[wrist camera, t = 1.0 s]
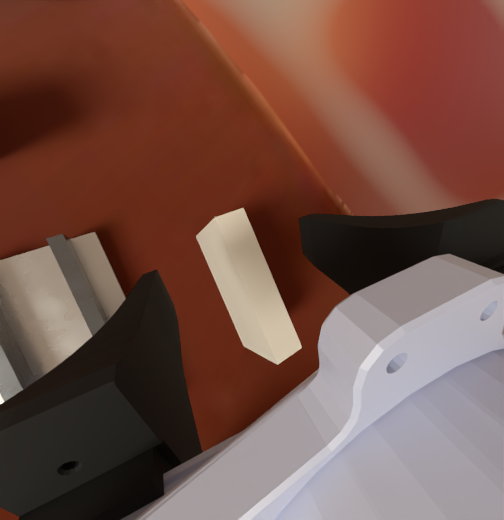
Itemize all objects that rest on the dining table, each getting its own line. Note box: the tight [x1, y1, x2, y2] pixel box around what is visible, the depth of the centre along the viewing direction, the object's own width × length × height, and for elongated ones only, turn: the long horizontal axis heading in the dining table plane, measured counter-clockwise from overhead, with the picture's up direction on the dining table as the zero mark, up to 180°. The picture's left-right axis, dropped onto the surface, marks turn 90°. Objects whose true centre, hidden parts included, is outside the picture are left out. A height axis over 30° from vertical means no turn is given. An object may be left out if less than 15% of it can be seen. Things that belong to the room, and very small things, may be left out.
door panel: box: [196, 208, 302, 365], centre depth 22 cm, size 12×2×7 cm, turn 25°
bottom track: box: [0, 232, 126, 404], centre depth 18 cm, size 16×10×3 cm, turn 24°
